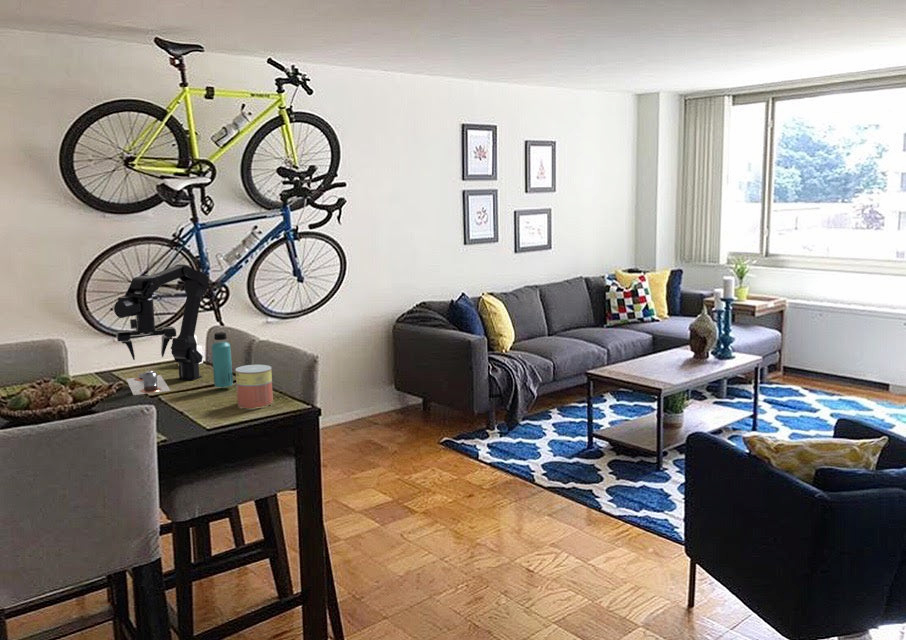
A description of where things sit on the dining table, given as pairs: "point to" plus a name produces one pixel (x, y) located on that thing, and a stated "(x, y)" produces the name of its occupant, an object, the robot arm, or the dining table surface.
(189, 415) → the dining table surface
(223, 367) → the beverage bottle
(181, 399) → the dining table surface
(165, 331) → the robot arm
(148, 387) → the locating pin
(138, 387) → the flange strip
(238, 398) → the canned food
